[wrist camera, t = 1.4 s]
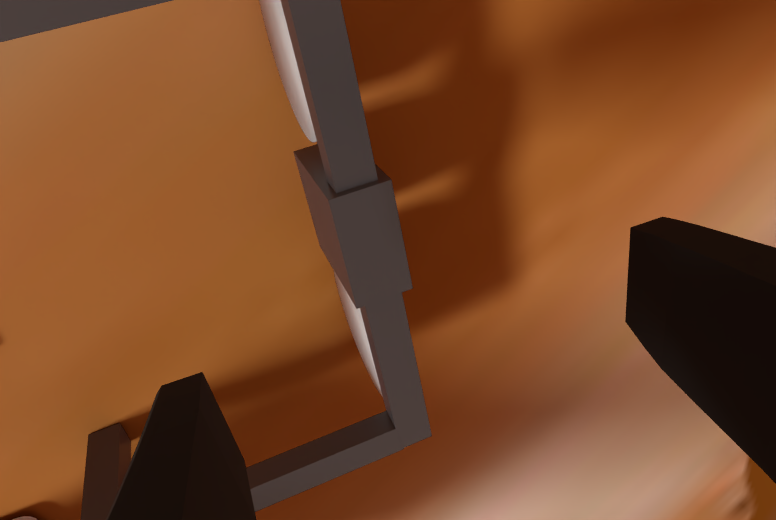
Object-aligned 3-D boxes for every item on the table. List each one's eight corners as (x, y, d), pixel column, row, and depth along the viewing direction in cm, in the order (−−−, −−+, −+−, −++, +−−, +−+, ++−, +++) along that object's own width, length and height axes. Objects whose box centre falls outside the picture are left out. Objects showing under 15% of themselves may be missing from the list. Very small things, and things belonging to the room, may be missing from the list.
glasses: (282, -89, 15) (337, -96, 11) (385, 344, 22) (442, 438, 18) (-177, 12, 13) (-321, 50, 9) (100, 453, 20) (91, 587, 16)
